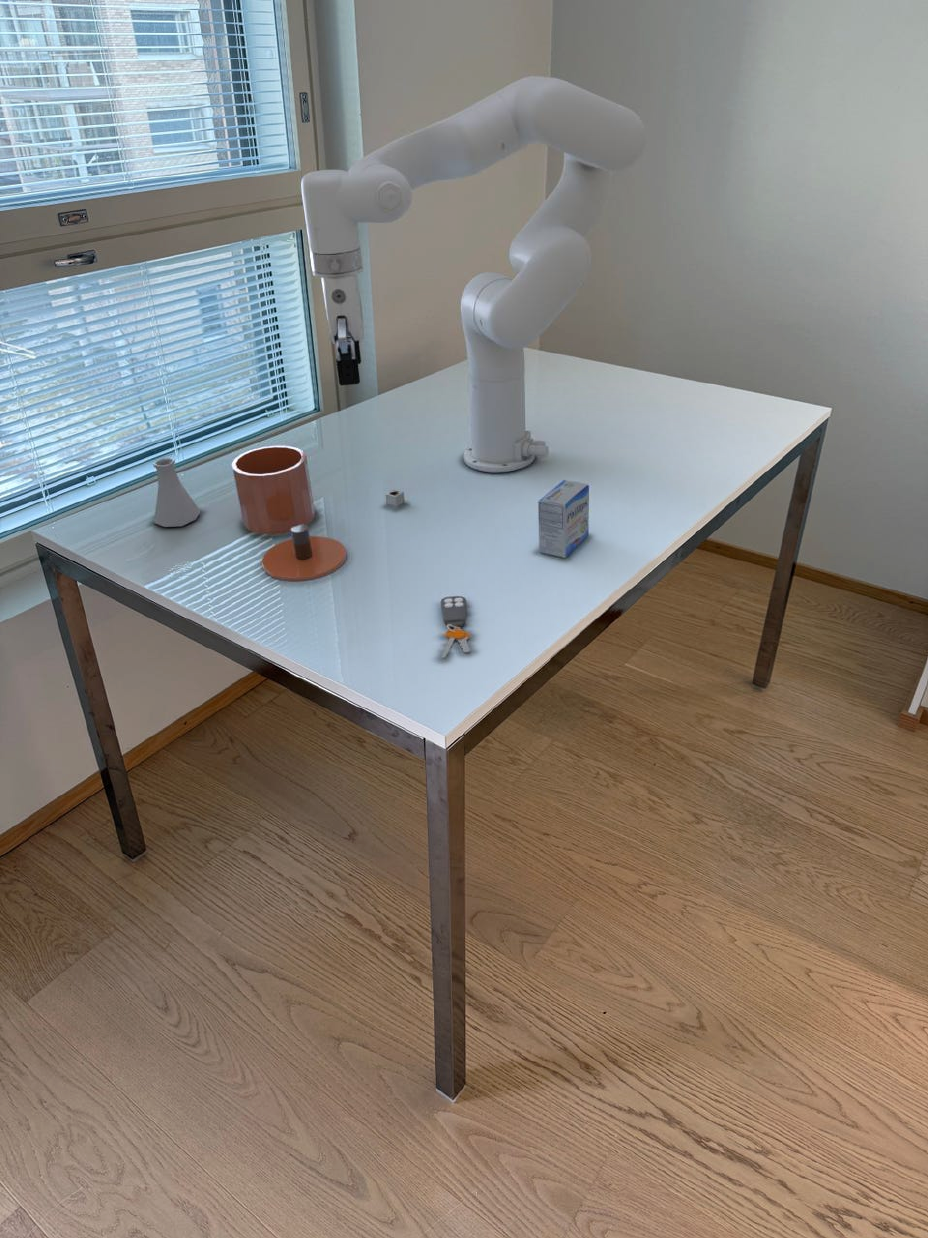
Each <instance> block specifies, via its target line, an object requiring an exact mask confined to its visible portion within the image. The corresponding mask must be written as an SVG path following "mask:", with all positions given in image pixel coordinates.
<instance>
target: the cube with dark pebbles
mask: <svg viewBox="0 0 928 1238" xmlns="http://www.w3.org/2000/svg"><path fill="white" fill-rule="evenodd" d="M405 501H406V500H405V492H404V491H401V490H397V489H391V491H389V492H387V493H385V504H386V505H389V506H393V507H396V508H397V507H398V506H400V505H402V504H406V502H405Z"/></svg>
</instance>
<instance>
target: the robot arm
mask: <svg viewBox="0 0 928 1238" xmlns="http://www.w3.org/2000/svg"><path fill="white" fill-rule="evenodd" d="M646 142H647V132H646V128H645V125H644V123H643V121H642V119H641V118H640V117H639V115H638V114H637V113H635V111H633V110H632V109H630V108H628V107H626V106H624V105H621V104H619V103H617V102H614V101H612V100H610V99H607V98H605V97H602V96H601V95H598V94H595V93H593V92H591V91H588V90H587V89H584V88H582V87H580V86H577V85H575V84H573V83H571V82H569V81H566V80H563V79H562V78H561V79H560V78H557V77H547V76H540V75H530V76H525V77H523V78H520V79H518V80H516V81H514V82H511V83H510V84H507V85H506V86H504V87H503V88H501V89H499V90H497V91H496V92H493V93H492V94H490V95H487V96H486V97H484V98H482V99H480V100H479V101H477V102H475V103H473V104H472V105H470V106H468V107H466V108H464V109H462V110H460V111H459V112H457V113H454V114H453V115H450V116H449V117H446V118H444V119H442V120H441V119H440V120H438V121H436V122H433V123H431V124H430V125H428V126H426V127H423V128H421V129H418V130H416V131H414V132H413V131H412V132H411V133H409V134H406V135H404V136H401V137H399V138H396V139H395V140H393V141H391V142H389V143H387V144H385V145H383V146H381V147H380V148H377V149H376V150H374V151H372V152H370V153H369V154H367V155H365V156H363V157H361V158H360V159H358V160H357V161H356V162H355V163H354V164H352V165H351V166H350V167H349V170H348V171H346V170H344V169H343V170H342V169H322V170H315V171H311V172H308V173H306V174H304V175H303V177H302V178H301V181H300V190H301V191H300V192H301V197H302V205H303V212H304V219H305V226H306V227H305V228H306V232H307V234H306V235H307V240H308V247H309V255H310V262H311V270H312V275H313V276H314V277H317V278H320V279H321V285H322V293H323V299H324V306H325V314H326V319H327V325H328V330H329V331H328V332H329V335H330V340H331V343H333V344H334V345H335V350H336V358H335V361H336V368H337V369H336V371H337V375H338V376H337V377H338V378H337V379H338V384H339V385H340V386H350V385H351V386H352V385H359V384H360V383H361V377H360V370H359V365H360V364H362V357H361V349H360V348H361V347H360V343H362V342H364V339H365V337H364V336H365V323H364V315H363V309H362V300H361V292H360V291H361V290H360V285H359V280H358V279H359V278H358V274H360V273H362V272H363V271H364V267H363V258H362V248H361V240H360V239H361V238H360V231H359V223H366V224H367V223H370V224H371V223H373V224H386V223H392V222H395V221H397V220H399V219H401V218H402V217H403V216H405V214H406V213H407V212H408V210H409V209H410V206H411V204H412V200H413V199H412V198H413V192H412V191H413V190H416V189H418V188H420V187H422V186H426V185H428V184H432V183H435V182H438V181H439V182H440V181H446V180H459V179H463V178H468V177H472V176H475V175H478V174H479V173H481V172H483V171H485V170H487V169H488V168H490V167H492V166H494V165H496V164H497V163H499V162H501V161H502V160H505V159H506V158H508V157H510V156H512V155H513V154H516V153H517V152H519V151H521V150H523V149H525V148H526V147H529V146H530V145H533V144H534V143H537V144H542V145H546V146H548V147H551V148H553V149H556V150H558V151H560V152H562V153H563V167H562V172H561V175H560V178H559V180H558V183H557V184H556V186H555V187H554V189H552V191H551V192H550V195H548V197H547V198H546V200H544V202H543V203H542V204H541V205H540V207H539V208H538V209H537V210H536V211H535V213H534V214H533V215H532V216H531V217H530V218H529V219H528V220H527V222H526V223H525V224H524V226H523V227H522V228H521V229H520V230H519V231H518V233H517V234H516V235H515V236H514V238H513V240H512V241H511V244H510V246H509V251H508V252H509V253H508V258H509V262H510V265H511V267H512V269H513V270H514V272H515V273H517V275H516V276H514V278H511V277H510V276H507V275H505V274H502V273H499V272H494V271H493V272H492V271H486V272H482V273H479V274H477V275H476V276H474V277H473V278H471V279H470V280H469V282H468V283H467V284H466V285H465V288H463V291H462V294H461V299H460V317H461V324H462V329H463V334H464V340H465V348H466V357H467V377H468V378H467V379H468V396H469V415H470V416H469V419H470V434H471V435H470V438H471V445H470V446H468V447H467V448H466V449H465V450H464V452H463V461H464V463H465V465H466V466H467V467H469V468H471V469H473V470H476V471H480V472H486V473H508V472H513V471H517V470H521V469H524V468H526V467H528V466H530V465H531V463H533V462H534V460H535V457H539V458H547V457H548V455H549V446H548V445H547V442H546V441H545V440H534V439H533V438H532V432H531V431H530V430H526V389H525V388H526V386H525V382H526V381H525V372H526V371H525V368H526V367H525V365H526V364H525V351H524V348H526V347H528V346H529V345H531V344H533V343H534V342H535V341H536V340H537V339H539V338H540V337H541V336H542V335H543V333H544V332H545V331H546V330H547V329H548V328H549V327H550V325H552V323H553V322H554V321H555V320H556V319H557V318H558V316H559V315H560V314H561V313H562V312H563V310H564V309H565V308H566V307H567V306H568V305H569V303H570V302H571V301H572V300H573V299H574V298H575V296H576V295H577V294H578V293H579V291H580V290H581V288H582V287H583V286H584V284H585V282H586V281H587V279H588V276H589V273H590V270H591V267H592V252H591V247H590V245H589V243H588V241H587V239H586V238H587V236H588V235H589V233H590V232H591V231H592V230H593V228H594V227H595V225H596V224H597V223H598V221H599V220H600V218H601V217H602V216H603V214H604V212H605V210H606V208H607V205H608V202H609V198H610V194H611V188H612V187H611V186H612V174H613V172H614V173H615V172H616V173H618V172H623V171H625V170H628V169H629V168H632V166H634V165H635V164H636V163H637V162H638V161H639V159H640V158H641V157H642V155H643V153H644V151H645V147H646V144H647V143H646Z"/></svg>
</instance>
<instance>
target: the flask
mask: <svg viewBox="0 0 928 1238" xmlns="http://www.w3.org/2000/svg"><path fill="white" fill-rule="evenodd" d="M175 464H176V460H175V458H171V457H162V458H160V459H157V460H155V461H154V462H153V464H152V466H153V468H154V469H155V470H156V474H157V495H156V503H155V510H154V516H153V524H156V525H158V526H160V527H164V528H172V527H184V526H185V525H187V524H189V523H192V522H194V521H196V520H197V519H198V517H199V515H200V513H201V510H200V508H199V507H198V506H197V504H196V502H195V501H194V500H193V498H192V496H190V494H189V493H188V491H187V490H186V488H185V487H184V485H183V484H182V482H181V481H180V478H179V476H178V474H177V471H176V468H175Z"/></svg>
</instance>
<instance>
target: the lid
mask: <svg viewBox="0 0 928 1238" xmlns="http://www.w3.org/2000/svg"><path fill="white" fill-rule="evenodd" d="M310 534H311V533H310V528H309V526H308V524H307V525H304V524H299V525H295V526H293V527H292V528H291V532H290V535H291V539H290V538H289V539H287V540H284V541H281V542H279V543H277V544H275V545H274V546H272V547H271V548H268V550H267V551H266V552H265V553H264V555H263V556H262V558H261V566H262V567H261V568H262V569H263V571H264V573H266V574H267V575H268V576H270V577H271V578H274V579H277V580H281V581H289V582H300V581H301V582H302V581H303V582H304V581H309V580H314V579H318V578H322V577H325V576H327V575H329V574H331V573H333V572H335V571H337V570H338V569H339V568H341V567H342V566H343V564H344V563H345V561H346V559H347V548H346V547H345V545H344V544H343V543H341V542H340V541H338V539H334V538H331V537H326V536H319V535H310Z"/></svg>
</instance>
